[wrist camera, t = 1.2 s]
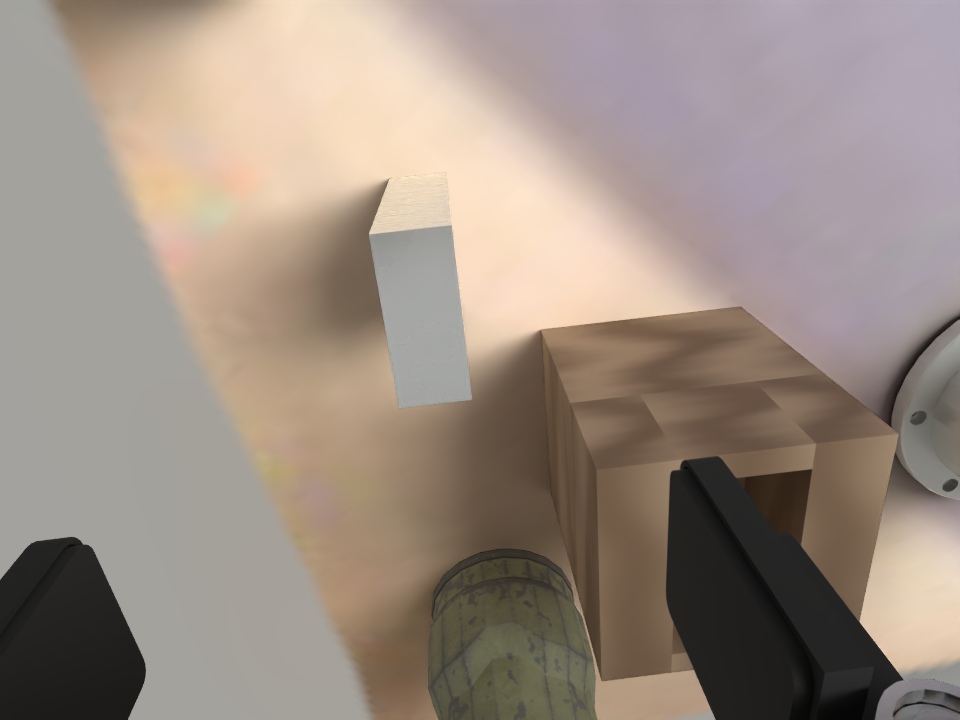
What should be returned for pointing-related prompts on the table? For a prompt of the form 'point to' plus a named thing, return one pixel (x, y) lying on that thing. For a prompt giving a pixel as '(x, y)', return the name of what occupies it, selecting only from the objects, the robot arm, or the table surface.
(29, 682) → the robot arm
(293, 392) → the table surface
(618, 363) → the slotted wooden block
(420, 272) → the white block
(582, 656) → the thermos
